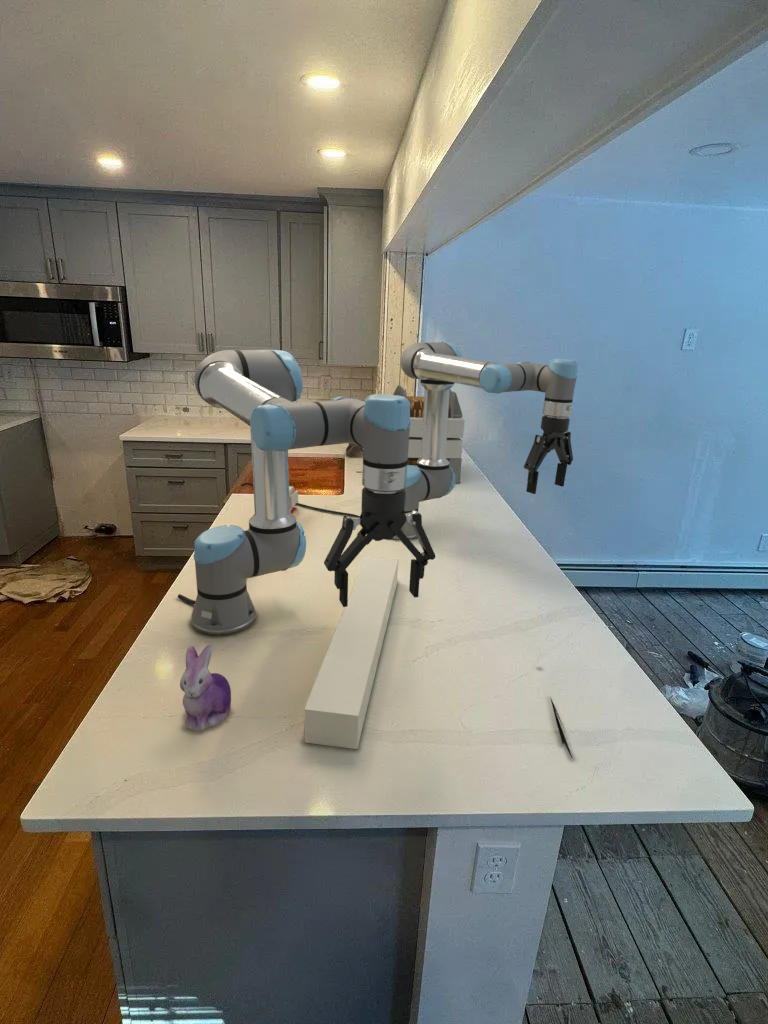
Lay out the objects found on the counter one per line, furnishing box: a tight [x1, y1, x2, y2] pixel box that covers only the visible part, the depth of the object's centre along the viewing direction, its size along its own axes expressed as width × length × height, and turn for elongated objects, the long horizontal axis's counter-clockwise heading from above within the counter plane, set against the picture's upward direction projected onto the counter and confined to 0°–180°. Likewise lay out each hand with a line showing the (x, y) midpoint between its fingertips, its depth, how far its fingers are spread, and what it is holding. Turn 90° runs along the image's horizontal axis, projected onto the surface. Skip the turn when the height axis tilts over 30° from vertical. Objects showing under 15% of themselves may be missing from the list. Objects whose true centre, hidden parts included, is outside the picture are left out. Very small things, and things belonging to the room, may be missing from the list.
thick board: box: [304, 555, 399, 750], centre depth 133 cm, size 67×10×7 cm, turn 173°
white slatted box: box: [392, 384, 465, 484], centre depth 268 cm, size 34×33×41 cm
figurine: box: [179, 643, 232, 732], centre depth 106 cm, size 9×10×15 cm
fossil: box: [345, 443, 363, 458], centre depth 306 cm, size 22×10×15 cm
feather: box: [539, 666, 573, 758], centre depth 114 cm, size 2×28×2 cm
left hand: (379, 598), depth 104 cm, fingers open, 13 cm apart
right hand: (545, 489), depth 165 cm, fingers open, 13 cm apart
